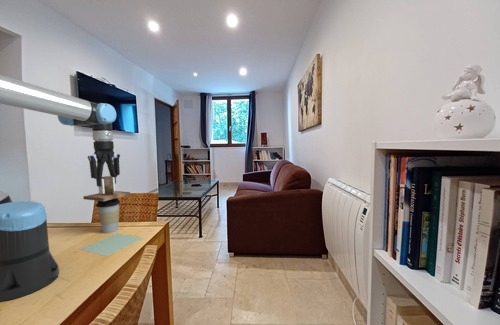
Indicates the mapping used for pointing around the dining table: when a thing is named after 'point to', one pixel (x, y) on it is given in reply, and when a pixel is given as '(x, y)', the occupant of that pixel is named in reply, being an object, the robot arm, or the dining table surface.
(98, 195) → the walnut cover
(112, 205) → the coffee cup
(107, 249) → the rubber mat
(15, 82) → the robot arm
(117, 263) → the dining table surface
